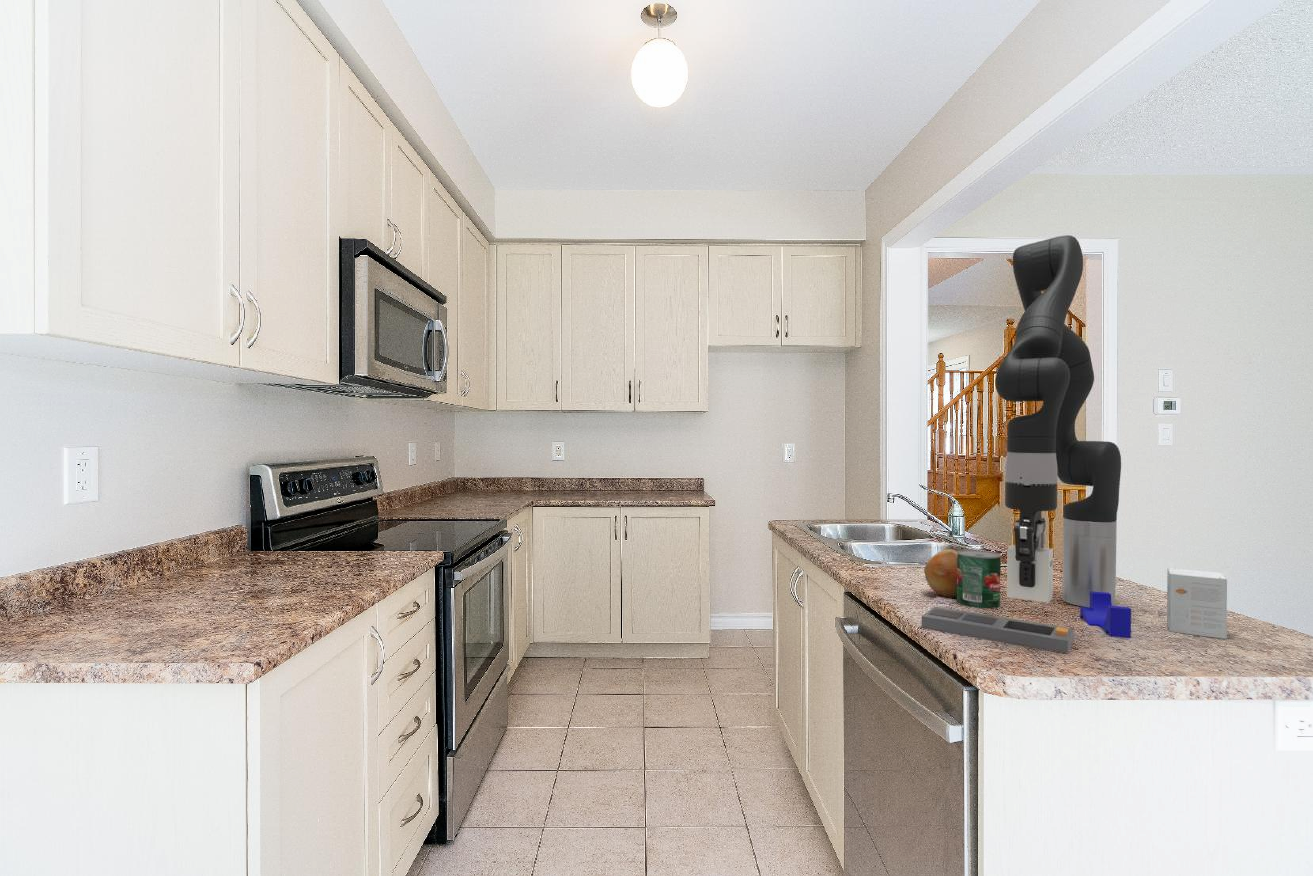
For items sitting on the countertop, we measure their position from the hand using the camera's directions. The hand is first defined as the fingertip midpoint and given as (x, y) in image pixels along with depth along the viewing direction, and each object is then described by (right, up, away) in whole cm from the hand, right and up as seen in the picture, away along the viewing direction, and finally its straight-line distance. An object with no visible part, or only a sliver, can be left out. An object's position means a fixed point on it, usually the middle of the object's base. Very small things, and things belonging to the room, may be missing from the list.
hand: (1029, 583), depth 111 cm
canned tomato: (+3, -10, +23) cm, 26 cm away
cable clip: (+17, -11, +8) cm, 22 cm away
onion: (+1, -10, +32) cm, 34 cm away
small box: (+34, -11, +8) cm, 36 cm away
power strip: (-4, -10, +3) cm, 12 cm away
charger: (0, -2, 0) cm, 2 cm away
